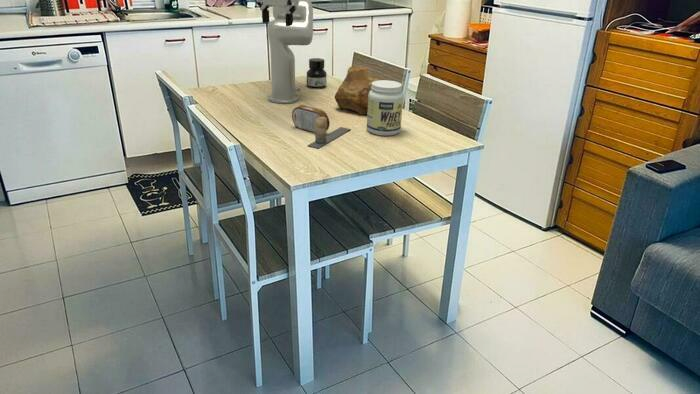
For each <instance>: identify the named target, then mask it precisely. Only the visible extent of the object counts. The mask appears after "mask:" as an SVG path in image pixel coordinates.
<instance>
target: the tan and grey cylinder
mask: <svg viewBox="0 0 700 394" xmlns="http://www.w3.org/2000/svg"><path fill="white" fill-rule="evenodd" d="M326 130H327V118H325V117H316V123H315V133H314V134H315V135H314V139H315V140H314V142H316V143H318V144H324V143H326V135H327V131H328V130H327V131H326Z"/></svg>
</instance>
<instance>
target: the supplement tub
mask: <svg viewBox="0 0 700 394" xmlns="http://www.w3.org/2000/svg"><path fill="white" fill-rule="evenodd" d="M402 87H403V86H402V83H401V82H398V81H395V80H387V79H386V80H385V79H384V80H383V79H382V80H379V81H374V82H372V86H371V89H372V90H371V91H370V92H369V95H368V113H367V114H366V116H367V117H366V130H367V131H368V132H369V133H371V134H373V135H376V136H384V137H386V136H387V137H388V136H394V135H397V134H399V132H401V130H402V118H403V117H402V114H403V107H404V106H403V104H404V94H403V92H402V90H403V88H402Z"/></svg>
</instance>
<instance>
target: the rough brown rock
mask: <svg viewBox="0 0 700 394" xmlns="http://www.w3.org/2000/svg"><path fill="white" fill-rule="evenodd" d="M379 80H381V78H380V77H375V78H373V76H371V75H370V74H369V71H368V69H367V68H366V67H362V66H359V67H356V66H350V67H349V68H348V69H347V72H346V76H345V78H344V79H343V81H342V83H341V84H340V85H339V87H338V89H337V91H336V92H335V94H334V99H335V102H336V103H337V106H338V108H340V109H344V110H346V109H349V110H352V111H354V112H356V113H358V114H360V115H363V116H367V113H368V95H369V92H370V91H371V90H372V89H371V86H372V82H374V81H379Z"/></svg>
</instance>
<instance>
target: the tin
mask: <svg viewBox="0 0 700 394" xmlns="http://www.w3.org/2000/svg"><path fill="white" fill-rule="evenodd" d="M316 117H325V118H327V130H326V132H327V131H328V130H329V128H330V125H331V124H330V123H331V122H330V118H329V116H328V115H327V113H326V112H325V111H324V110H323V109H320V108H316V107H313V106H308V105H305V104H301V105H298V106H296V107H294V108H293V110H292V111H291V119H292V123H293V124H294V125H295V126H296V128H298V129H299V130H303V131H307V132H309V133H313V134H315V123H316Z"/></svg>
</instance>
